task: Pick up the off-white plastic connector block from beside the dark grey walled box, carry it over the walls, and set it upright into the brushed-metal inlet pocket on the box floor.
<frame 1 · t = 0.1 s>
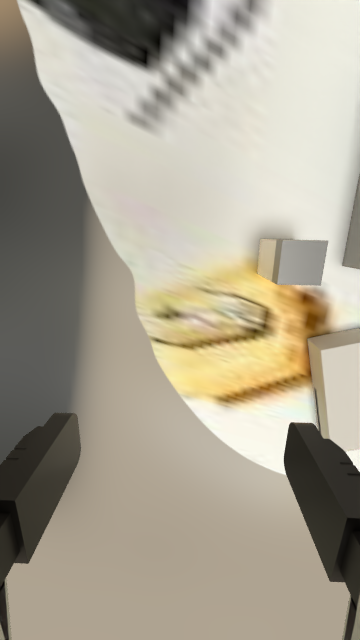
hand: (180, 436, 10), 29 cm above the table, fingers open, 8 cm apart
connector: (275, 256, 36), on the table
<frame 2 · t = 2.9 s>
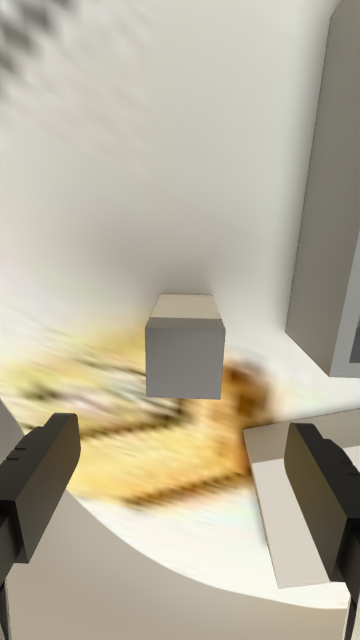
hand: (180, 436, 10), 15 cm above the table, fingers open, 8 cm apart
connector: (185, 319, 24), on the table
disc drive: (357, 470, 30), on the table
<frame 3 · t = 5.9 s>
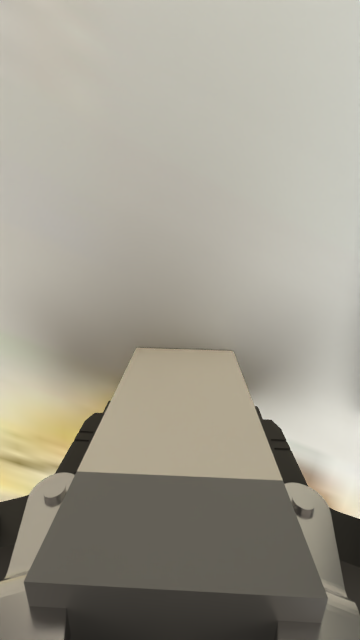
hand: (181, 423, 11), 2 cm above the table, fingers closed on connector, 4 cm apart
connector: (183, 391, 13), on the table, touching gripper
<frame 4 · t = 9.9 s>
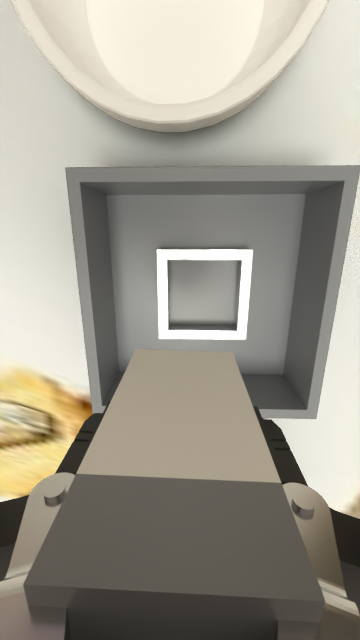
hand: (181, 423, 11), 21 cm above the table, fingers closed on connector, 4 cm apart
connector: (182, 392, 13), point 19 cm above the table, touching gripper
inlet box: (202, 291, 31), on the table
bowl: (175, 12, 24), on the table
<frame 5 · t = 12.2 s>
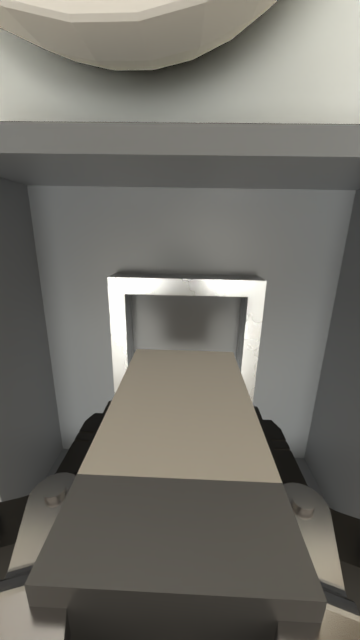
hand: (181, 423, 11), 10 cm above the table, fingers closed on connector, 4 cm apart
connector: (183, 392, 13), point 8 cm above the table, touching gripper
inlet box: (185, 335, 20), on the table
when the fingers open (5 cm above the table, at t = 14.1 s): connector drops 1 cm, resting on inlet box.
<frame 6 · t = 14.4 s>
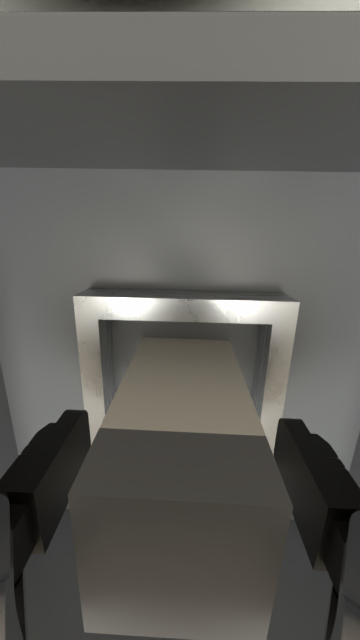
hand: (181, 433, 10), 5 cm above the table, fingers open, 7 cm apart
connector: (184, 377, 15), point 1 cm above the table, touching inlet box
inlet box: (183, 368, 16), on the table
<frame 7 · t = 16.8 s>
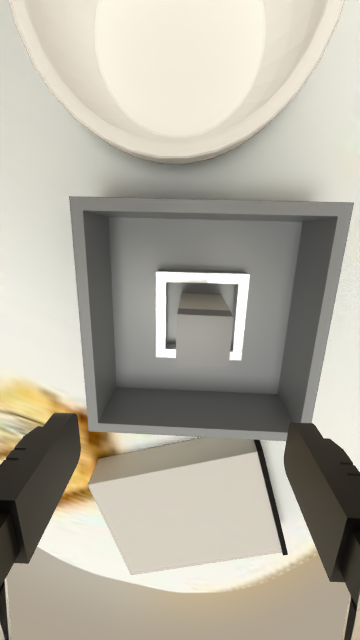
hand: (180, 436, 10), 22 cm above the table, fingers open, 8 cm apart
connector: (200, 313, 31), point 1 cm above the table, touching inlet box
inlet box: (199, 310, 32), on the table
disc drive: (190, 486, 40), on the table
bowl: (179, 47, 25), on the table
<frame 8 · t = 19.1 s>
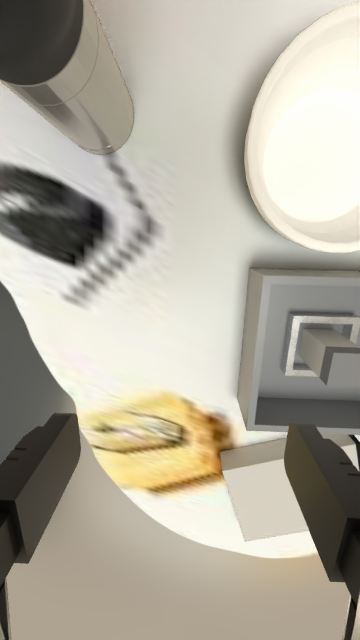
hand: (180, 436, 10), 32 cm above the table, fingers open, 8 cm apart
connector: (315, 342, 42), point 1 cm above the table, touching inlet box
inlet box: (312, 340, 43), on the table
disc drive: (288, 472, 51), on the table
bowl: (319, 161, 36), on the table
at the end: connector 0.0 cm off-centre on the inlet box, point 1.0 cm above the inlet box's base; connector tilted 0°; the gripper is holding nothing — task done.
